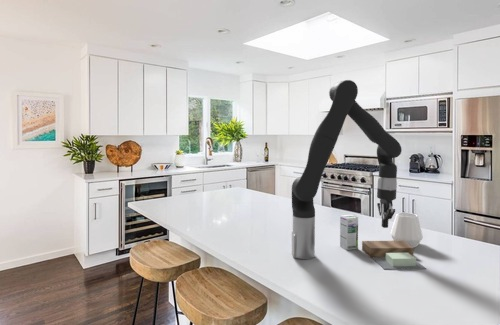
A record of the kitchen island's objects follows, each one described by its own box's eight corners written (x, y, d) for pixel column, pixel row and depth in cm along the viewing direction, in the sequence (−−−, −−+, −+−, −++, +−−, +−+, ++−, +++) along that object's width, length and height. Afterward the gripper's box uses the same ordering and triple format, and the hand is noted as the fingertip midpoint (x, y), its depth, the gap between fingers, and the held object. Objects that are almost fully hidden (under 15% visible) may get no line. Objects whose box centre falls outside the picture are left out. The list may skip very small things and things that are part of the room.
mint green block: (385, 252, 127) (385, 260, 127) (392, 258, 121) (392, 266, 121) (407, 252, 127) (407, 259, 127) (415, 258, 121) (415, 266, 121)
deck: (369, 257, 131) (370, 248, 130) (362, 249, 139) (362, 240, 139) (413, 257, 131) (413, 247, 130) (402, 249, 140) (402, 240, 139)
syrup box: (346, 250, 139) (347, 218, 138) (339, 245, 145) (340, 214, 143) (358, 249, 140) (358, 217, 139) (350, 244, 146) (351, 214, 145)
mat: (384, 269, 119) (384, 268, 119) (372, 258, 130) (372, 257, 130) (426, 269, 119) (426, 268, 119) (411, 257, 130) (411, 257, 130)
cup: (389, 246, 144) (390, 216, 143) (391, 237, 156) (392, 209, 154) (422, 251, 138) (423, 219, 136) (422, 241, 149) (423, 212, 148)
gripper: (372, 185, 141) (370, 222, 143) (384, 190, 128) (382, 231, 130) (388, 185, 141) (386, 223, 143) (403, 190, 128) (400, 232, 130)
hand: (384, 227), depth 136 cm, fingers closed
